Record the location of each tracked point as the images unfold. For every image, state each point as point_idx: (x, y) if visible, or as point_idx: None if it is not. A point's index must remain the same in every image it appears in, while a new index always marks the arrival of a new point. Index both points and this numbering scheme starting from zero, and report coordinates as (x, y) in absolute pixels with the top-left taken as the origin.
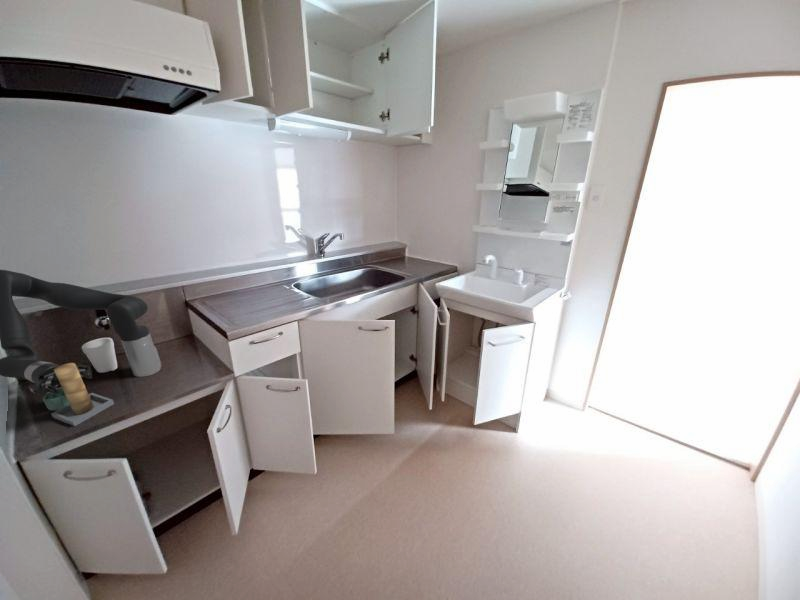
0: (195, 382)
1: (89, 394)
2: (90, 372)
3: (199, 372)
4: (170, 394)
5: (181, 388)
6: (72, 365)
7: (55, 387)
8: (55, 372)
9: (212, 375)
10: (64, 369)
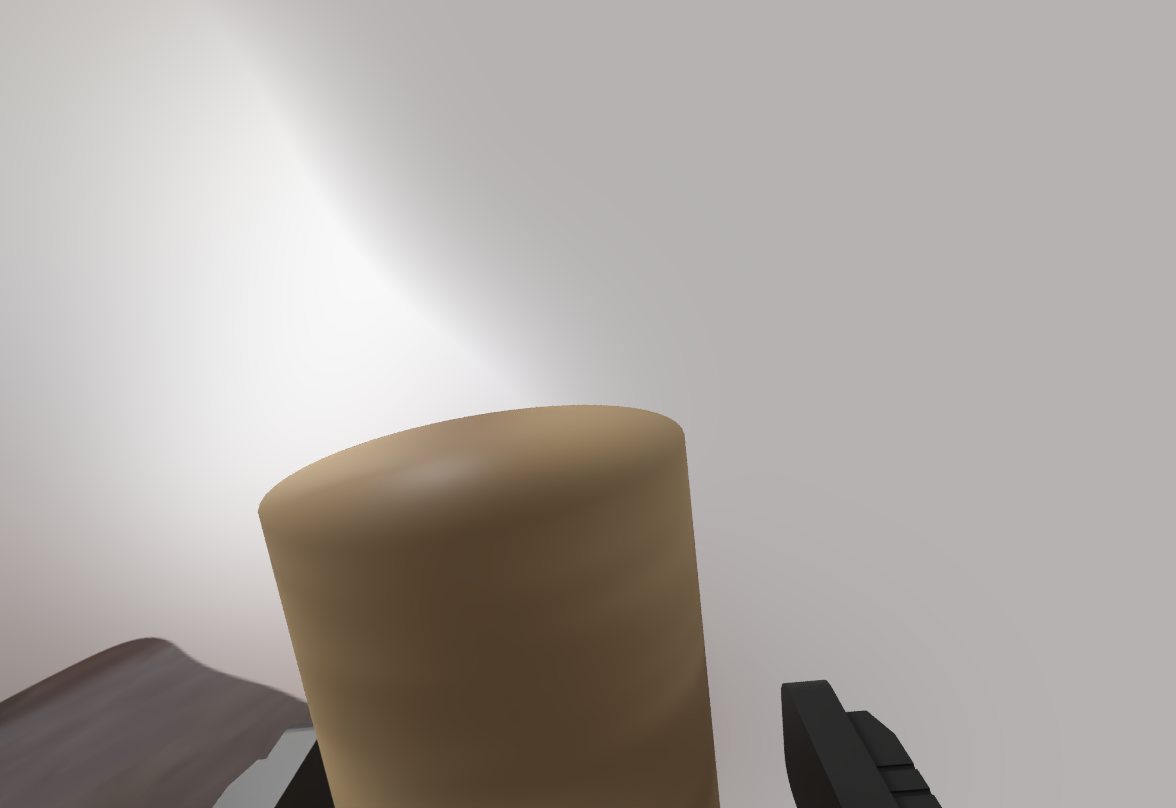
0: (186, 695)
1: None
2: (239, 782)
3: (16, 768)
4: (308, 712)
5: (243, 710)
6: (402, 439)
7: (818, 710)
8: (686, 462)
9: (124, 675)
10: (558, 417)
